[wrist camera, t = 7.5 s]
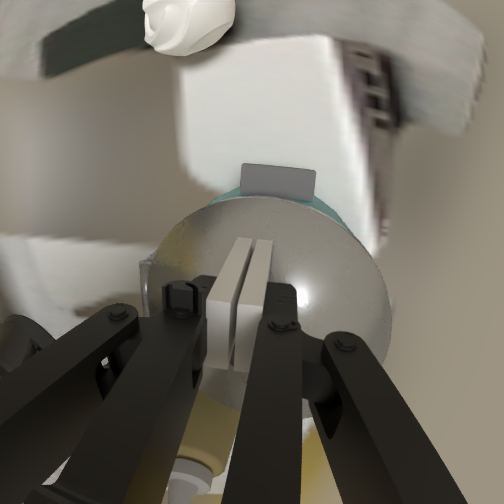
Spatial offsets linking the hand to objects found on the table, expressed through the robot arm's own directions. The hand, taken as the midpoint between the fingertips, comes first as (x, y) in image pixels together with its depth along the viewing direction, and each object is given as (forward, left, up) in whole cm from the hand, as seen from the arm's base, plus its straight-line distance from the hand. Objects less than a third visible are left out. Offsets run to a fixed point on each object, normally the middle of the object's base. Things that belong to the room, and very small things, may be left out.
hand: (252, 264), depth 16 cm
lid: (0, -4, -1) cm, 4 cm away
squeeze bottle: (-4, -20, -12) cm, 24 cm away
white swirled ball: (-7, +17, -12) cm, 22 cm away
